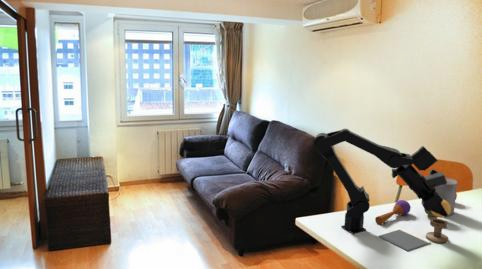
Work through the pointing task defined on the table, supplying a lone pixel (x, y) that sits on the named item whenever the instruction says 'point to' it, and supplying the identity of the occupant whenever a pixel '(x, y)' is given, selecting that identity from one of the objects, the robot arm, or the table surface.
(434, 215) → the cup
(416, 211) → the table surface
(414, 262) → the table surface
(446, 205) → the rubber ball
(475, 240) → the table surface
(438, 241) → the ball tee
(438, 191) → the pillar candle
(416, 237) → the mat
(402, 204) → the kendama
